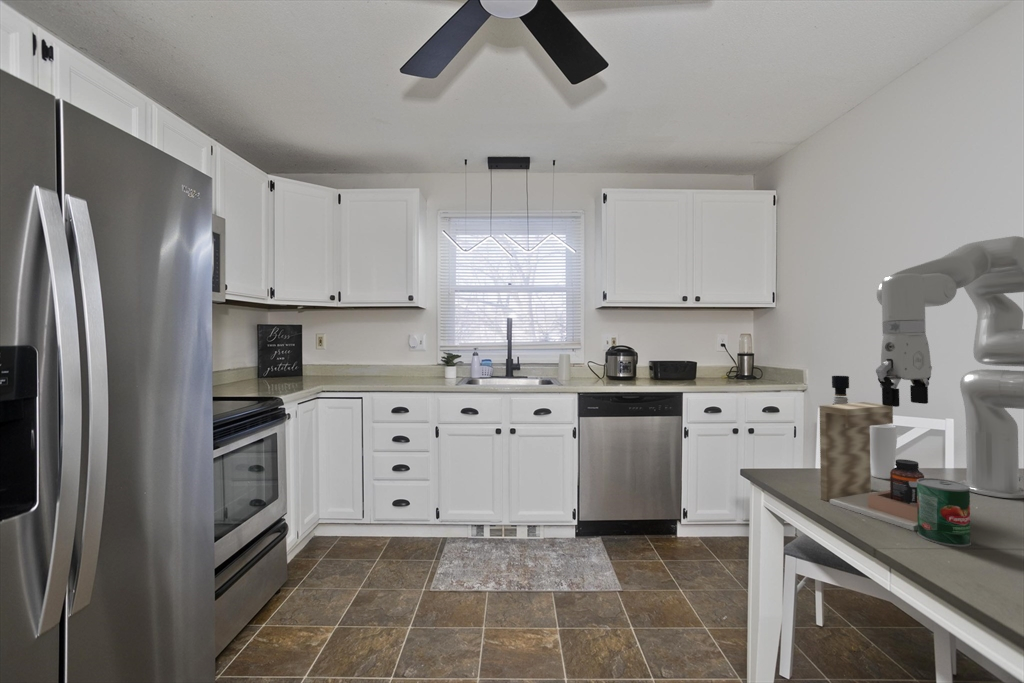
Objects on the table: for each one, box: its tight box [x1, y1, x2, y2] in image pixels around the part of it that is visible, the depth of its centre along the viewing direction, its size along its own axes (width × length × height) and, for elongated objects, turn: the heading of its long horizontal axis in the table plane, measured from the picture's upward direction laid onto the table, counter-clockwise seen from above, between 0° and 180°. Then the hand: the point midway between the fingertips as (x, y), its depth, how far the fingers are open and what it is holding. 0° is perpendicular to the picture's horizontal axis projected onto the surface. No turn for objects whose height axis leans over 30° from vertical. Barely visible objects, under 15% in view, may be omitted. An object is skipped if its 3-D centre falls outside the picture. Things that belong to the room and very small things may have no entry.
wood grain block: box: [819, 401, 894, 502], centre depth 118 cm, size 16×7×24 cm, turn 110°
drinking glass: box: [870, 424, 898, 480], centre depth 136 cm, size 7×7×15 cm
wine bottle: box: [831, 375, 850, 405], centre depth 129 cm, size 6×6×30 cm
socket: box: [829, 490, 918, 532], centre depth 109 cm, size 16×18×4 cm
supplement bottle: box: [889, 458, 925, 506], centre depth 107 cm, size 6×6×11 cm
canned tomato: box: [917, 477, 972, 548], centre depth 94 cm, size 8×8×11 cm
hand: (905, 404), depth 107 cm, fingers open, 9 cm apart
